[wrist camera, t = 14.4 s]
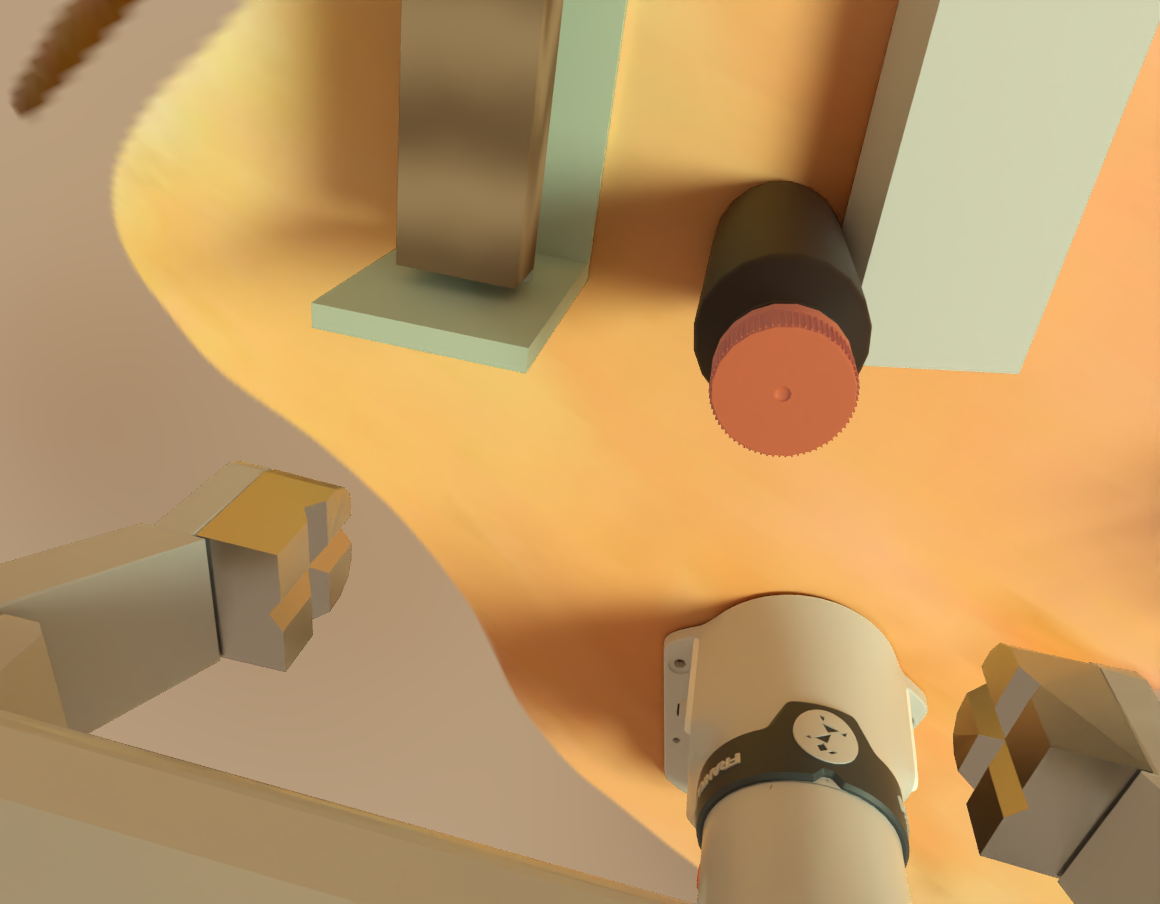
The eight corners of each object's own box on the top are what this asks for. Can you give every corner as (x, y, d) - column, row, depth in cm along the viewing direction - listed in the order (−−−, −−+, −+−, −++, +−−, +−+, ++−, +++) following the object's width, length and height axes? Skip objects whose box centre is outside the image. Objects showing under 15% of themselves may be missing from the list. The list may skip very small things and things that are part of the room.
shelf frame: (587, 280, 47) (525, 373, 35) (425, 248, 48) (312, 327, 36) (643, -105, 37) (585, -160, 25) (440, -134, 38) (292, -200, 26)
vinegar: (726, 170, 42) (699, 279, 25) (855, 189, 42) (918, 314, 24) (703, 293, 46) (666, 462, 29) (823, 312, 45) (858, 498, 28)
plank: (434, -72, 34) (403, -80, 31) (569, -51, 34) (550, -57, 31) (422, 246, 41) (395, 264, 38) (533, 268, 41) (515, 289, 38)
